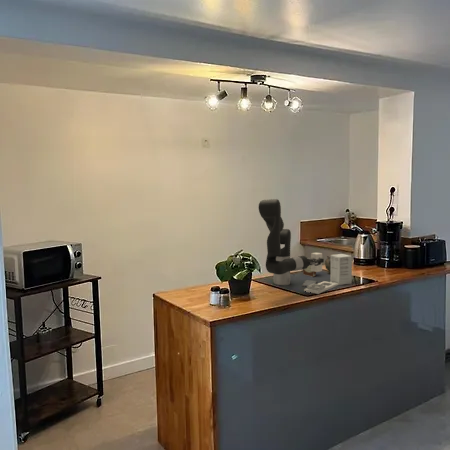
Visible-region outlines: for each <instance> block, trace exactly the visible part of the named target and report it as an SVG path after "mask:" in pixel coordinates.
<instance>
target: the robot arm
mask: <svg viewBox="0 0 450 450" xmlns="http://www.w3.org/2000/svg"><path fill="white" fill-rule="evenodd" d="M258 212H259V215H260V217H261V218H262V219H263V220H264V222H265V224H266V227H267V228H268V231H269V233H268V236H267V240H266V249H267V255H266V260H265V270H266V271H267V273H270V274H272V275H273V277H272V278H273V279H272V280H273V284H275V285H277V286H289V285H291V272H295V271H296V272H298V271H303V269H306V268H307V267H308V266H311V265H315V266H318V265H320V264H321V263H322V264H323V263H325V261H324V258H322V259H311V256H310V257H309V256H308V257H307V256H305V255H297V256H294V257H291V239H292V233H291V230H290V229H288V228H284V226H285V223H284V220H283V218H282V206H281V202H280V200H279V198H276V199H275V198H273V199H272V198H271V199H263V200H261V201H259V203H258ZM281 245H284V246H283V247H282V248H281ZM313 260H314V261H313Z"/></svg>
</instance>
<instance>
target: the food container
mask: <svg viewBox="0 0 450 450" xmlns="http://www.w3.org/2000/svg"><path fill="white" fill-rule="evenodd" d="M302 275H304V276H308V277H311V278H315V277H316V276H317V272H315V271H311V266H308V267H307V268H306V269H303V270H302Z"/></svg>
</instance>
